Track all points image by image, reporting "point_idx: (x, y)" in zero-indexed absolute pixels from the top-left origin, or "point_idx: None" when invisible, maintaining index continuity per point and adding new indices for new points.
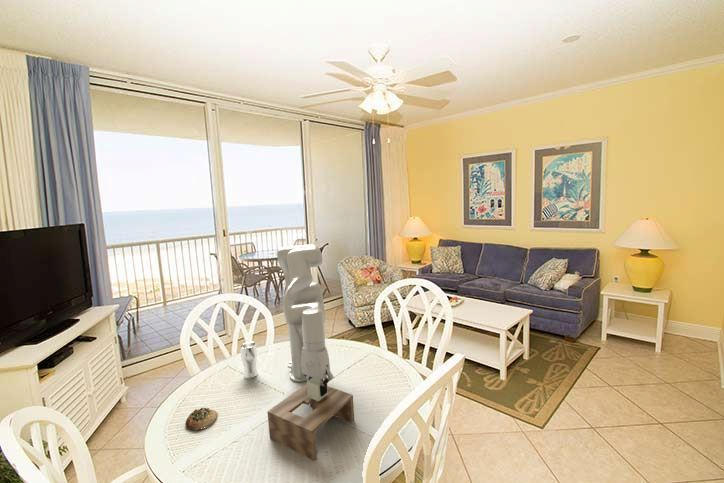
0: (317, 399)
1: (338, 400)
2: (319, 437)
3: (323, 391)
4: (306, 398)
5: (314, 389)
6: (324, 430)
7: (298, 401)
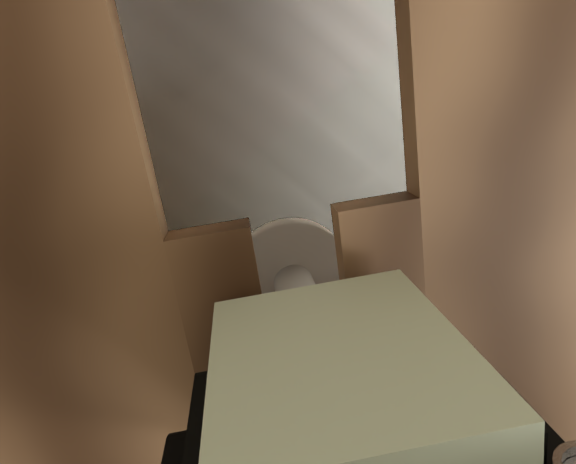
0: (236, 307)
1: (75, 460)
2: (163, 146)
3: (181, 448)
4: (417, 254)
5: (294, 381)
6: (195, 217)
7: (457, 150)
